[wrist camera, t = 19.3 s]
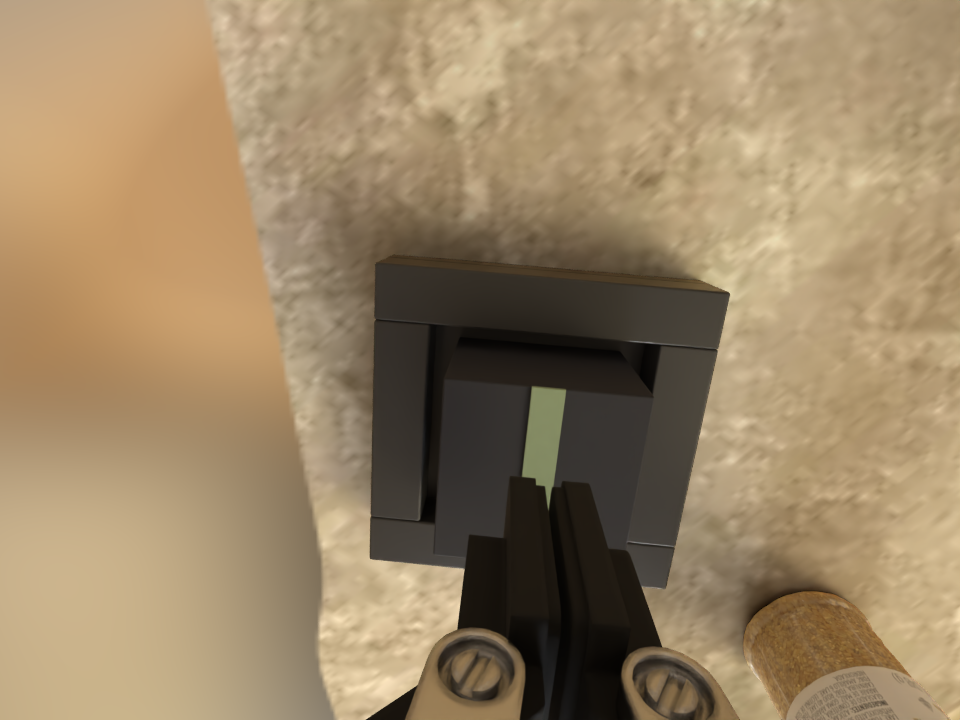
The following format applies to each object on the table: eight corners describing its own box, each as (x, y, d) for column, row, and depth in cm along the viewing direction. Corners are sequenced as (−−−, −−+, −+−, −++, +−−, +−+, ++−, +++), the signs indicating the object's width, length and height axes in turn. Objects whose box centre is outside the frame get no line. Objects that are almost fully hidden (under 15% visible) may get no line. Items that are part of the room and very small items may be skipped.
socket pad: (392, 254, 16) (375, 262, 14) (701, 280, 16) (731, 292, 14) (385, 519, 19) (369, 560, 17) (648, 545, 19) (666, 590, 17)
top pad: (459, 336, 16) (443, 378, 12) (620, 350, 16) (656, 398, 12) (449, 479, 18) (432, 558, 14) (597, 493, 18) (622, 577, 14)
